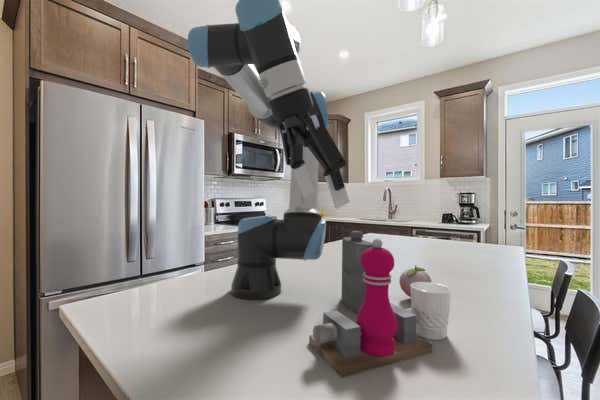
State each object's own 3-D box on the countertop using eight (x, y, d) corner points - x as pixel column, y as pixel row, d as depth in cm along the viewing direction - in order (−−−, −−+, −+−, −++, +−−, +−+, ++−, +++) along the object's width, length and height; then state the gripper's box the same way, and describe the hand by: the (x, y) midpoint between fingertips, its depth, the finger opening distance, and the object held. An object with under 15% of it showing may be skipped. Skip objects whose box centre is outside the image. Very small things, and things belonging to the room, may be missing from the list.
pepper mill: (392, 339, 57) (393, 236, 56) (401, 359, 49) (402, 242, 49) (355, 337, 57) (355, 235, 57) (358, 356, 50) (359, 241, 50)
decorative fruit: (405, 292, 90) (406, 260, 90) (433, 298, 85) (434, 264, 85) (394, 300, 83) (394, 265, 83) (424, 307, 78) (424, 270, 78)
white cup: (447, 345, 58) (448, 295, 57) (406, 335, 62) (407, 288, 62) (451, 330, 64) (452, 285, 64) (413, 322, 68) (414, 279, 68)
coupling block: (302, 344, 57) (302, 311, 57) (393, 325, 67) (394, 296, 67) (333, 379, 46) (334, 338, 46) (437, 350, 56) (438, 316, 56)
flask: (336, 296, 86) (337, 228, 86) (355, 295, 87) (356, 228, 87) (357, 316, 71) (358, 235, 71) (379, 314, 72) (380, 234, 72)
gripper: (249, 108, 62) (284, 197, 68) (298, 85, 39) (343, 221, 46) (280, 97, 64) (311, 184, 71) (342, 69, 42) (379, 201, 48)
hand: (324, 199), depth 58 cm, fingers open, 13 cm apart
